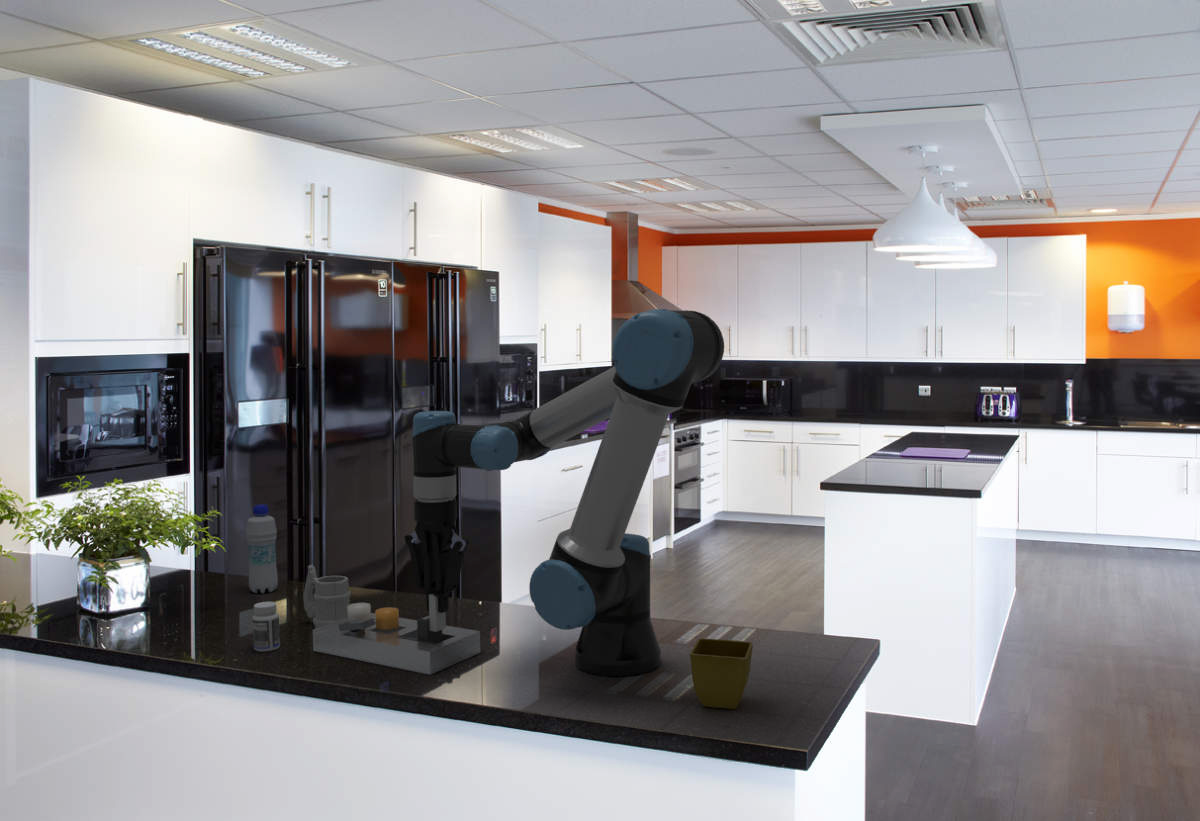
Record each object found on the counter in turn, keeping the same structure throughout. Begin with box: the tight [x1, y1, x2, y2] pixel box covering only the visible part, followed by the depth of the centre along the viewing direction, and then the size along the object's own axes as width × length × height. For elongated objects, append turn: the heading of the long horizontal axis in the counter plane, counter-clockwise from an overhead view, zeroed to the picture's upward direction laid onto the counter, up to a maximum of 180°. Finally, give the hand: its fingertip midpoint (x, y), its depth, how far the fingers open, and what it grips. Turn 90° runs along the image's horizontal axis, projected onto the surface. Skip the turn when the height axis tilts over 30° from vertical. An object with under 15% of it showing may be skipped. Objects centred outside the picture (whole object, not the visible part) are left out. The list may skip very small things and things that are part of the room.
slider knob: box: [417, 614, 442, 643], centre depth 188 cm, size 2×4×5 cm, turn 149°
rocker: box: [339, 618, 375, 631], centre depth 190 cm, size 6×3×1 cm, turn 59°
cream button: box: [347, 602, 372, 621], centre depth 196 cm, size 4×4×3 cm
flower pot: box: [689, 637, 754, 710], centre depth 163 cm, size 9×9×9 cm
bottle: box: [245, 504, 279, 594], centre depth 238 cm, size 7×7×20 cm
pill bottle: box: [251, 601, 281, 653], centre depth 195 cm, size 5×5×8 cm
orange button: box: [374, 606, 400, 630], centre depth 193 cm, size 4×4×3 cm
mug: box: [302, 564, 352, 629], centre depth 209 cm, size 8×12×12 cm, turn 57°
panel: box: [312, 612, 481, 675], centre depth 192 cm, size 28×14×5 cm, turn 59°
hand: (437, 629), depth 187 cm, fingers closed
